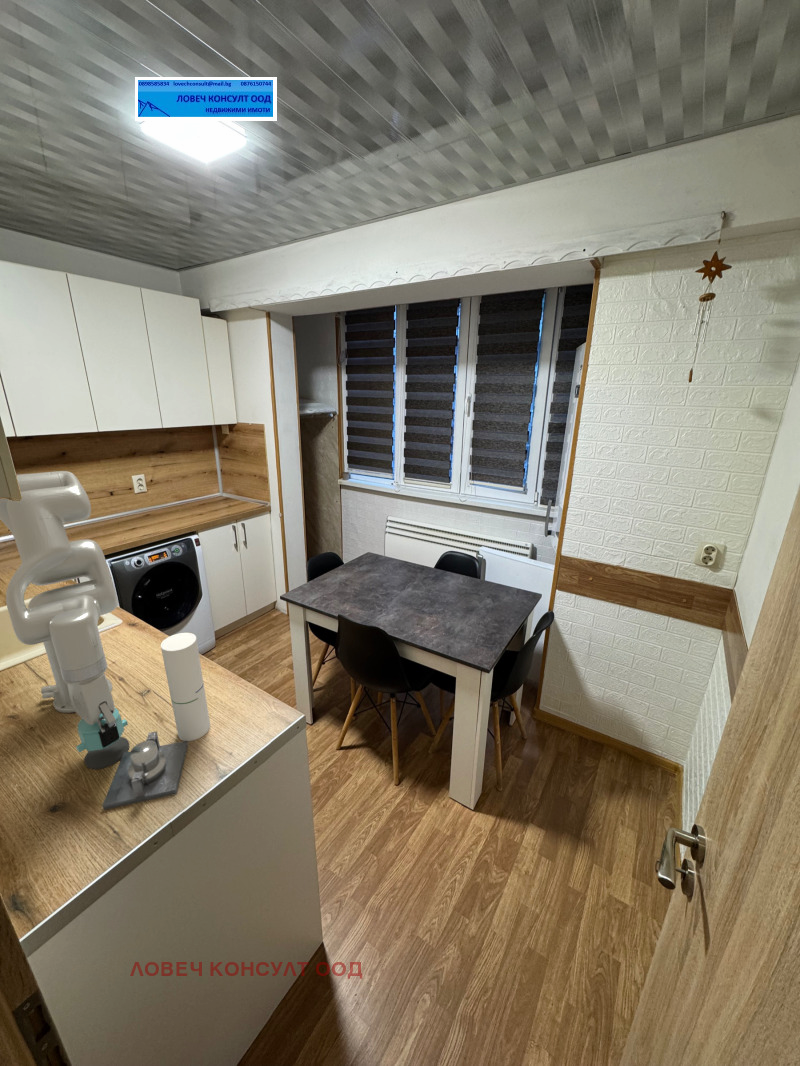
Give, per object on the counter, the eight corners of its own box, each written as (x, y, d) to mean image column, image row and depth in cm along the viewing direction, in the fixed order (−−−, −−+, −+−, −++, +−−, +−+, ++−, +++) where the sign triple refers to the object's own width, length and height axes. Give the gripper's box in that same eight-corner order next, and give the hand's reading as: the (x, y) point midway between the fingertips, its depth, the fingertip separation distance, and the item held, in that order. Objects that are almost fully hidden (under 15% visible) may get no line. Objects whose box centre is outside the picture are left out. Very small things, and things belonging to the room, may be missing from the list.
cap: (85, 759, 87) (80, 740, 85) (71, 744, 91) (65, 725, 89) (134, 730, 94) (130, 712, 93) (119, 717, 98) (114, 699, 97)
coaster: (78, 773, 90) (77, 771, 89) (93, 742, 97) (93, 740, 97) (122, 764, 92) (122, 762, 92) (134, 735, 100) (133, 733, 99)
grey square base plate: (176, 794, 86) (170, 768, 83) (103, 809, 82) (95, 783, 80) (188, 744, 97) (183, 720, 95) (124, 756, 94) (118, 732, 92)
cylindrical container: (216, 722, 104) (203, 636, 96) (194, 744, 97) (178, 653, 89) (193, 715, 106) (179, 630, 98) (171, 736, 100) (153, 646, 91)
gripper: (46, 661, 88) (66, 728, 94) (81, 693, 79) (101, 764, 85) (87, 645, 94) (103, 708, 100) (123, 672, 85) (140, 741, 91)
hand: (102, 734), depth 92 cm, fingers closed on cap, 7 cm apart
